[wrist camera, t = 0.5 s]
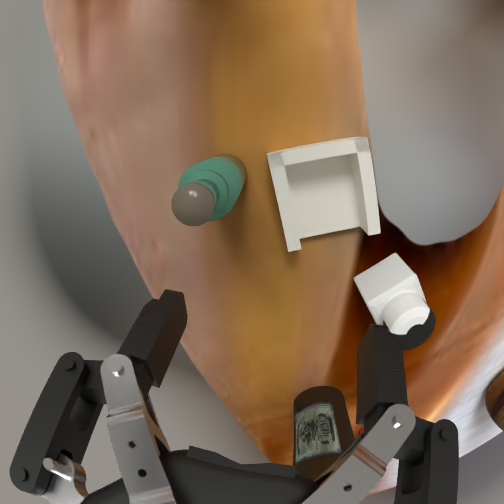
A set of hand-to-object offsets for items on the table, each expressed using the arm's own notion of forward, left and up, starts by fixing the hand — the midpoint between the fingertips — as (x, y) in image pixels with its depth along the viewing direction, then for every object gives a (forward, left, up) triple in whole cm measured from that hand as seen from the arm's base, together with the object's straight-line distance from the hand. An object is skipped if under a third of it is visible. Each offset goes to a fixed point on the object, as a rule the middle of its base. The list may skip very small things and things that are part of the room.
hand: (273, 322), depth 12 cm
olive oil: (+38, +1, -26) cm, 46 cm away
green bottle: (-4, -5, -25) cm, 26 cm away
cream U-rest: (0, +6, -25) cm, 26 cm away
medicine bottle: (+15, +13, -26) cm, 33 cm away
